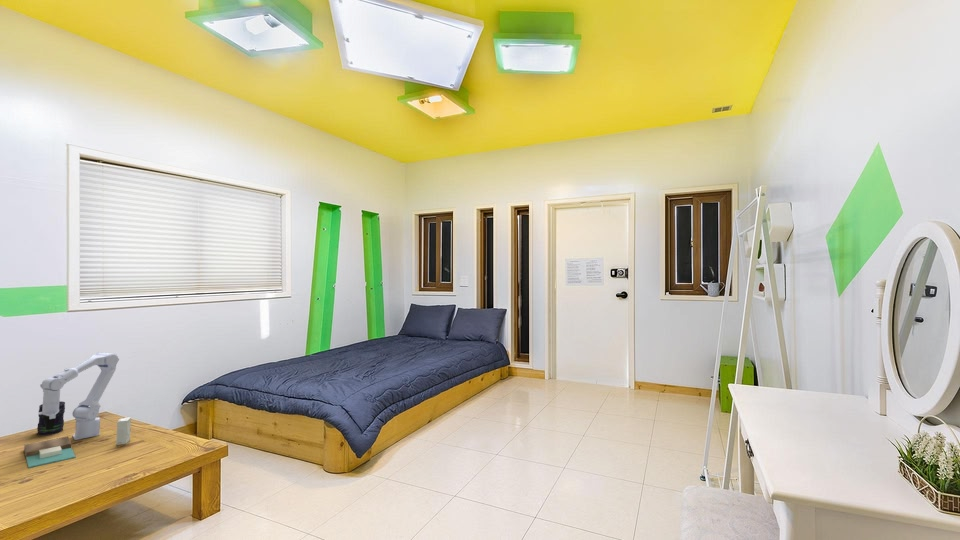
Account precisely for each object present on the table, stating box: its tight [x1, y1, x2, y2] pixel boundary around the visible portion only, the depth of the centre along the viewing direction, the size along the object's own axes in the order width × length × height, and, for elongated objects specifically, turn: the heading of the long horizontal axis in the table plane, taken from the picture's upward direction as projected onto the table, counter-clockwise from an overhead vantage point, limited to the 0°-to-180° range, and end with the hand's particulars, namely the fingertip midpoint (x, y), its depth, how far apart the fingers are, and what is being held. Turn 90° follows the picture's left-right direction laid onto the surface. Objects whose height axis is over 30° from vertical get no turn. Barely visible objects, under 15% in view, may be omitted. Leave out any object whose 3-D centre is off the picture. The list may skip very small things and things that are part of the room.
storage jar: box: [36, 401, 66, 437], centre depth 219 cm, size 10×10×15 cm
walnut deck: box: [23, 436, 72, 458], centre depth 200 cm, size 15×12×2 cm
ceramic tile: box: [39, 446, 62, 458], centre depth 194 cm, size 7×6×2 cm
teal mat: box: [25, 447, 76, 469], centre depth 191 cm, size 15×14×1 cm
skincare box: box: [115, 416, 132, 446], centre depth 212 cm, size 6×4×12 cm
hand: (49, 429), depth 201 cm, fingers closed
